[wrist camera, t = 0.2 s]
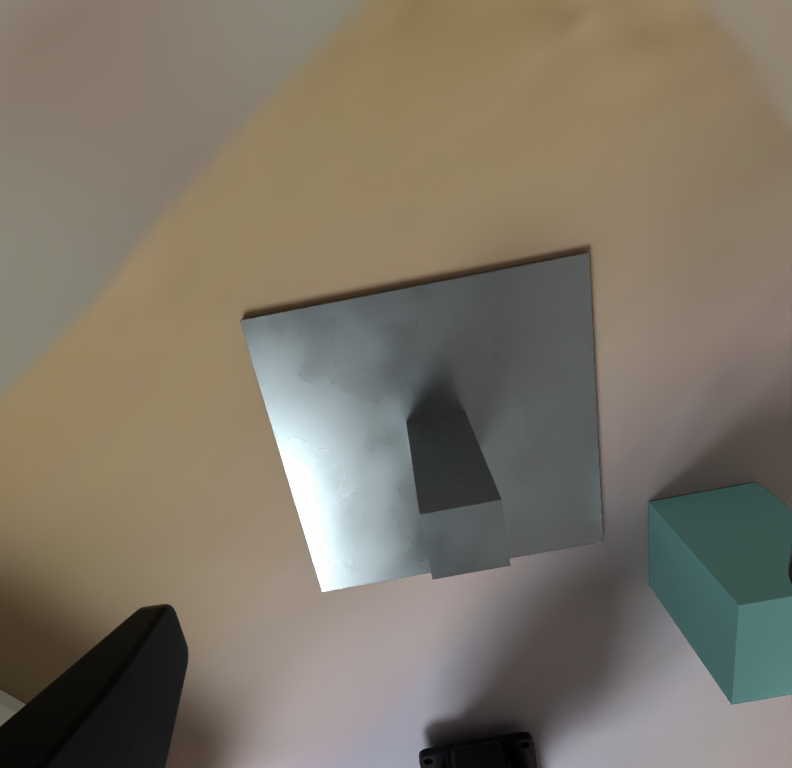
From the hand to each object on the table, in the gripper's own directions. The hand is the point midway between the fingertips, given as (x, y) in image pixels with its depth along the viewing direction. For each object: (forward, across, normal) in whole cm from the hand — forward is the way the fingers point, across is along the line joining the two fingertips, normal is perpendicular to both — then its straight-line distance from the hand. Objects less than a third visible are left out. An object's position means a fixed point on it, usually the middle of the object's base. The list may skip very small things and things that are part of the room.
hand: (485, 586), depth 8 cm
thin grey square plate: (+15, -1, +5) cm, 16 cm away
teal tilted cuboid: (+15, -13, +12) cm, 24 cm away
